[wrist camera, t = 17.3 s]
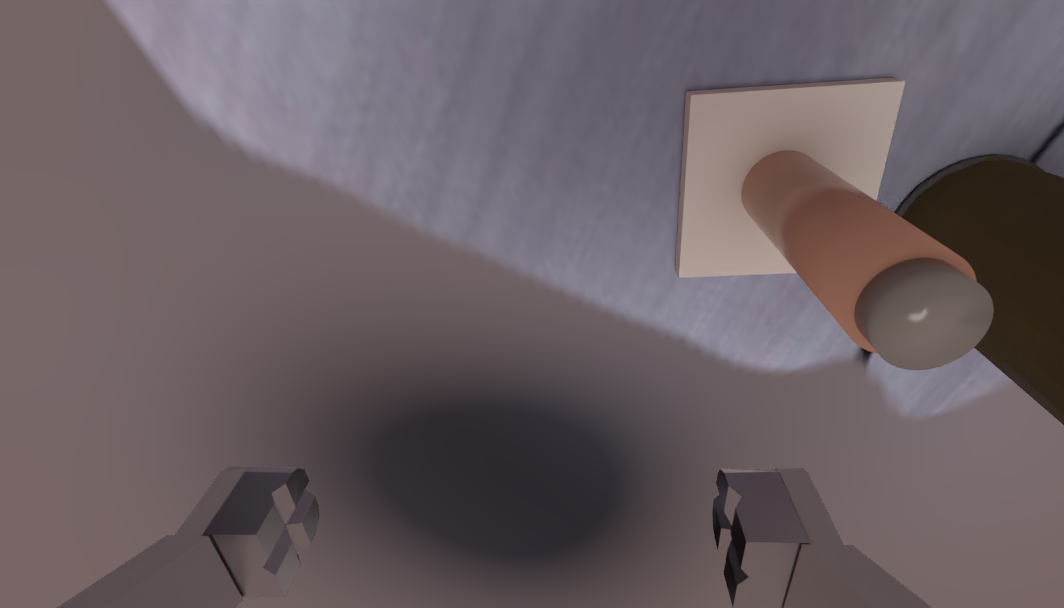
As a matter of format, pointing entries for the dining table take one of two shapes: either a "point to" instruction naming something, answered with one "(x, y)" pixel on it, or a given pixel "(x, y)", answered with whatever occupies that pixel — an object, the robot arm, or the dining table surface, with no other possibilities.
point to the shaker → (868, 264)
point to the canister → (1007, 260)
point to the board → (755, 132)
